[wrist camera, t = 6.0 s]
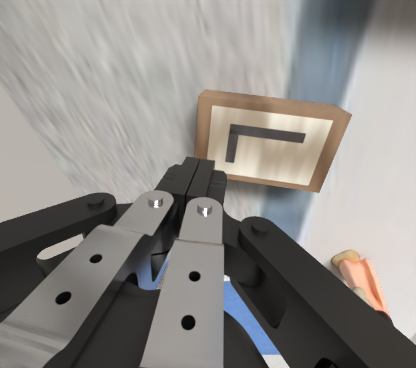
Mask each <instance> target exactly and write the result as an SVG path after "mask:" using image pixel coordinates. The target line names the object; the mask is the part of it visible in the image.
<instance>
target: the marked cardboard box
mask: <svg viewBox="0 0 416 368" xmlns="http://www.w3.org/2000/svg"><path fill="white" fill-rule="evenodd" d="M351 116H352V114H350V113H348V112H346V111H345V110H343V109H341V108H339V107H338V106H336V105H332V104H323V103H315V102H307V101H298V100H290V99H281V98H273V97H264V96H256V95H248V94H239V93H231V92H222V91H214V90H205V91H203V92H202V93H201V94H200V95H199V96H198V111H197V127H196V143H195V158H200V159H208V160H215V170H221V171H224V172H225V174H226V175H227V179H231V180H238V181H245V182H251V183H258V184H264V185H271V186H278V187H284V188H291V189H298V190H304V191H311V192H318V193H319V192H320V190H321V187H322V185H323V183H324V180H325V178H326V175H327V173H328V171H329V168H330V166H331V164H332V161H333V159H334V156H335V154H336V152H337V149H338V147H339V145H340V142H341V140H342V137H343V135H344V133H345V130H346V128H347V126H348V123H349V121H350V118H351Z"/></svg>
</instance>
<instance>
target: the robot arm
mask: <svg viewBox="0 0 416 368" xmlns="http://www.w3.org/2000/svg"><path fill="white" fill-rule="evenodd" d="M226 182H227V175H226V174H225V172H224V171H221V170H215V160H208V159H200V158H193V157H186V159H185V160H184V162H183V164H182V165H177V164H175V165H174V166H172V167H170V168H169V169H168V170H167V172H166V173H165V175H164V176H163V179H161V181H160V182H159V184H158V185H157V187H156V188H155V190H154V191H149V192H146V193H144V194H142V195H141V196H140V197H139V198H138V199H137V200H136V201H135V202H134V203H129V204H116V199H115V197H114V196H113V195H111V194H109V193H93V194H89V195H86V196H83V197H79V198H76V199H73V200H70V201H67V202H64V203H61V204H57V205H54V206H51V207H48V208H45V209H42V210H39V211H36V212H32V213H29V214H26V215H23V216H20V217H17V218H14V219H11V220H7V221H4V222H2V223H0V368H269V367H268V365H267V363H266V362H265V360H264V359H263V357H262V355H261V354H260V352H259V350H258V349H257V347H256V345H255V344H254V342H253V340H252V339H251V337H250V336H249V334H248V333H247V332H246V330H245V329H244V328H243V326H242V325H241V324H240V323H239V322H238V321H237V320H236V319H235V318H234V317H232V316H231V315H230V314H229V313H227V312H226V311H224V275H226V276H228V277H230V282H231V285H232V286H233V288H234V289H235V291H236V292H237V293H238V295H239V296H240V298H241V299H242V300H243V302H244V303H245V305H246V306H247V308H248V309H249V310H250V312H251V313H252V315H253V316H254V317H255V319H256V320H257V322H258V323H259V325H260V326H261V327H262V329H263V330H264V332H265V333H266V334H267V336H268V337H269V339H270V340H271V342H272V343H273V344H274V346H275V347H276V349H277V350H278V351H279V353H280V354H281V356H282V357H283V358H284V360H285V361H286V363H287V364H288V366H289V367H290V368H416V345H415V344H414V343H413V342H412V341H410V340H409V339H408V338H407V337H406V336H405V335H403V334H402V333H401V332H400V331H399V330H398V329H396V328H395V327H394V326H393V325H392V324H391V323H389V322H388V321H387V320H386V319H385V318H384V317H382V316H381V315H380V314H379V313H378V312H377V311H375V310H374V309H373V308H372V307H371V306H370V305H368V304H367V303H366V302H365V301H364V300H363V299H361V298H360V297H359V296H358V295H357V294H356V293H354V292H353V291H352V290H351V289H350V288H349V287H347V286H346V285H345V284H344V283H343V282H342V281H340V280H339V279H338V278H337V277H336V276H335V275H333V274H332V273H331V272H330V271H329V270H328V269H326V268H325V267H324V266H323V265H322V264H321V263H319V262H318V261H317V260H316V259H315V258H314V257H312V256H311V255H310V254H309V253H308V252H307V251H305V250H304V249H303V248H302V247H301V246H300V245H299V244H297V243H296V242H295V241H294V240H293V239H292V238H290V237H289V236H288V235H287V234H286V233H285V232H283V231H282V230H281V229H280V228H279V227H278V226H276V225H275V224H274V223H273V222H271V221H270V220H268V219H265V218H262V217H256V216H253V217H247V218H245V219H244V220H242V222H240V221H238V220H235V219H233V218H232V217H230V216H229V215H227V214H226V212H225V211H224V209H223V203H224V196H225V189H226ZM81 233H82V235H83V238H84V240H83V241H82V242H81V243H80V244H79V245H78V246H77V247H75V248H72V249H70V250H68V251H66V252H63V253H61V254H59V255H57V256H54V257H52V258H50V259H46V260H41V259H38V258H37V255H38V254H39V253H40V252H41V251H42V250H44V249H45V248H48V247H50V246H52V245H55V244H57V243H60V242H62V241H64V240H67V239H69V238H71V237H74V236H77V235H79V234H81ZM176 238H178V239H176ZM167 264H168V266H167ZM166 266H167V270H166V273H165V277H164V281H163V284H162V288H161V289H158V290H156V288H157V286H158V283H159V281H160V279H161V277H162V275H163V273H164V270H165V268H166Z"/></svg>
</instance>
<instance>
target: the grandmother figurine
mask: <svg viewBox="0 0 416 368" xmlns="http://www.w3.org/2000/svg"><path fill="white" fill-rule="evenodd" d="M359 261H360V256H359V254H358V253H357V252H356V251H353V250H347V251H345V252H342V253H340V254H338V255H336V256H334V257H333V258H332V262H333V264H334V265H335V266H337V267H339V269H340V274H341V275H342V276H343V277H344V279H345V280H346V282H347V284H348V286H349V288H350V289H351V290H352V291H353V292H354V293H356V294H357V295H358V296H359V297H360V298H361V299H363V300H364V301H365V302H366V303H367V304H368V305H370V306H371V307H372V308H373V309H374V310H375V311H377V312H378V313H379V314H380V315H381V316H382V317H384V318H385V319H386V320H387V321H388V322H389V323H391V324H392V325H393V323H392V320H391V318H390V315H389V312H388V309H387V305H386V302H385V298H384V295H383V292H382V289H381V286H380V283H379V280H378V278H377V275H376V273H375V271H374V268H373V266H372V264H371V262H370V261H369V260H368V259H363V260H362V261H360V262H359ZM393 326H394V325H393Z"/></svg>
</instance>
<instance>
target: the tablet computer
mask: <svg viewBox="0 0 416 368" xmlns="http://www.w3.org/2000/svg"><path fill="white" fill-rule="evenodd" d="M224 311H226V312H227V313H229V314H230V315H231V316H232V317H234V318H235V319H236V320H237V321H238V322H239V323H240V324H241V325H242V326H243V328H244V329H245V330H246V332H247V333H248V334H249V336H250V337H251V339H252V340H253V342H254V344H255V345H256V347H257V349H258V350H259V352H260V354H261V355H281V354H280V353H279V351H278V350H277V349H276V347H275V346H274V344H273V343H272V342H271V340H270V339H269V337H268V336H267V334H266V333H265V332H264V330H263V329H262V327H261V326H260V325H259V323H258V322H257V320H256V319H255V317H254V316H253V315H252V313H251V312H250V310H249V309H248V308H247V306H246V305H245V303H244V302H243V300H242V299H241V298H240V296H239V295H238V293H237V292H236V291H235V289H234V288H233V286H232V285H231V282H230V277H228V276H226V275H224Z"/></svg>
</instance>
